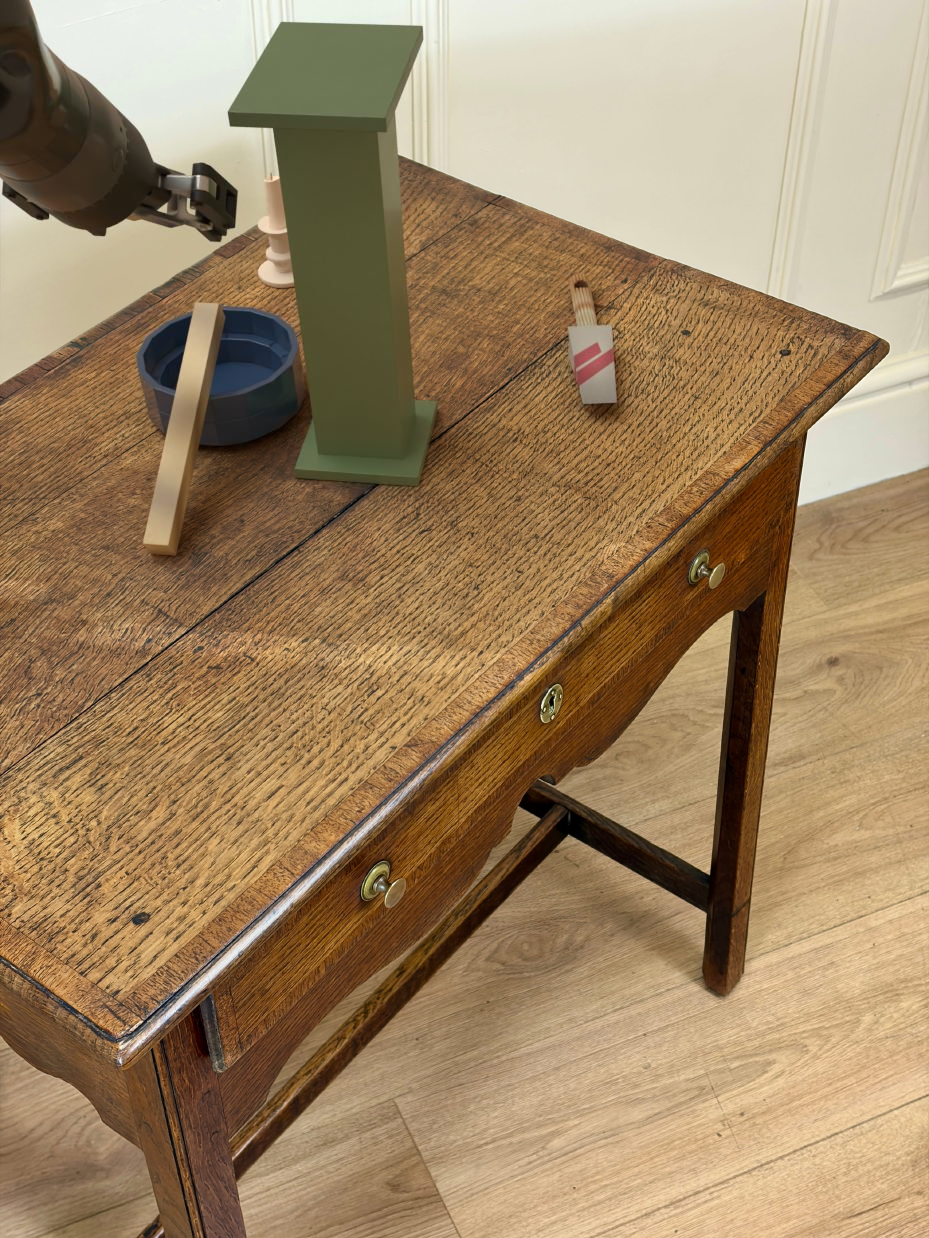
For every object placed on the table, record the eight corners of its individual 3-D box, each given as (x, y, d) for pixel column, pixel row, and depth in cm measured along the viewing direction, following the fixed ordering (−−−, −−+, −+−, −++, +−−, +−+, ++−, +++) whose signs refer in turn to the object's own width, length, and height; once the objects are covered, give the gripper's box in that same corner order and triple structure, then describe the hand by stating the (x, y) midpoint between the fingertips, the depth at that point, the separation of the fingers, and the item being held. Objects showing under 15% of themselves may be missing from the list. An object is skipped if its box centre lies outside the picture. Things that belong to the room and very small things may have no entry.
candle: (248, 273, 126) (231, 171, 118) (292, 254, 128) (278, 153, 121) (278, 294, 123) (263, 192, 115) (323, 274, 125) (311, 173, 118)
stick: (176, 556, 98) (168, 545, 96) (150, 554, 98) (142, 543, 96) (225, 317, 105) (219, 303, 103) (201, 315, 105) (194, 301, 103)
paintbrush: (576, 388, 106) (560, 269, 121) (575, 417, 108) (559, 295, 122) (623, 387, 106) (601, 267, 120) (622, 415, 108) (600, 293, 122)
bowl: (129, 447, 107) (114, 393, 103) (176, 355, 116) (164, 302, 112) (285, 458, 106) (276, 403, 102) (320, 364, 115) (313, 310, 111)
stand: (289, 494, 103) (226, 111, 80) (327, 389, 112) (280, 21, 90) (414, 503, 101) (385, 117, 79) (441, 396, 111) (422, 25, 89)
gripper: (185, 86, 75) (261, 176, 92) (-47, 77, 77) (67, 168, 93) (176, 216, 76) (253, 283, 92) (-56, 204, 77) (60, 273, 93)
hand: (159, 225), depth 92 cm, fingers open, 8 cm apart
